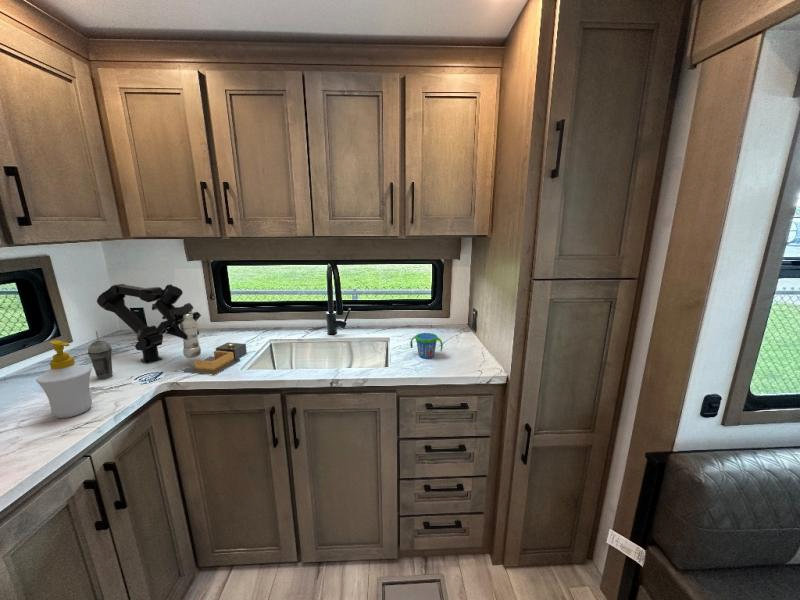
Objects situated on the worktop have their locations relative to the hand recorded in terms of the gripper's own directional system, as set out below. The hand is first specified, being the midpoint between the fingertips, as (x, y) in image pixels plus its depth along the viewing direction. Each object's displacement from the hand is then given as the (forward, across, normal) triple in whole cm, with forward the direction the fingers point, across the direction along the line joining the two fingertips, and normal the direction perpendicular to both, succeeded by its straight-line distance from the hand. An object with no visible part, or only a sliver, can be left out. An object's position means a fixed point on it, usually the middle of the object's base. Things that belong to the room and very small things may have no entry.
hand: (192, 336), depth 144 cm
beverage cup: (-9, -19, +28) cm, 35 cm away
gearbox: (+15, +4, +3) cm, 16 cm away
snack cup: (+79, +33, -62) cm, 106 cm away
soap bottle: (+4, -42, +16) cm, 45 cm away
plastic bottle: (+6, 0, +8) cm, 10 cm away
